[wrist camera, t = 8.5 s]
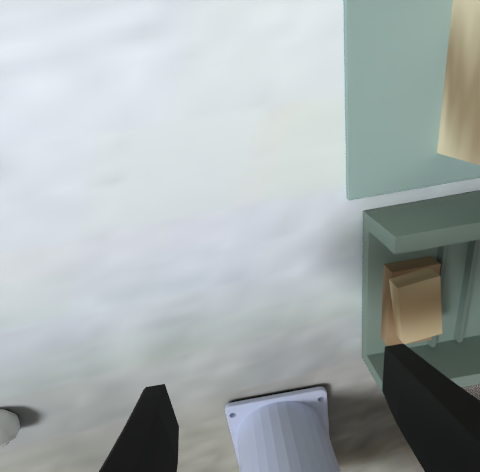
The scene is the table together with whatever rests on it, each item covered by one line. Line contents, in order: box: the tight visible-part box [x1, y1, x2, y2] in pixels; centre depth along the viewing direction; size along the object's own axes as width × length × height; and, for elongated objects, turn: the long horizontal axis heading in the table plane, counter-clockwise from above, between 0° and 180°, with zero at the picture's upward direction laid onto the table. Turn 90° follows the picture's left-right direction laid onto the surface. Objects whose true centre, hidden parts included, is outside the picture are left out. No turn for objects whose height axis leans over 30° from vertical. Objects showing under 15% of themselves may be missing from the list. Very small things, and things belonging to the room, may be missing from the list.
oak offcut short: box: [389, 267, 442, 344], centre depth 20 cm, size 4×2×1 cm, turn 17°
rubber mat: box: [344, 0, 480, 200], centre depth 17 cm, size 12×12×1 cm
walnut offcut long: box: [381, 256, 441, 346], centre depth 21 cm, size 6×3×1 cm, turn 9°
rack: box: [362, 191, 480, 397], centre depth 20 cm, size 12×11×4 cm
